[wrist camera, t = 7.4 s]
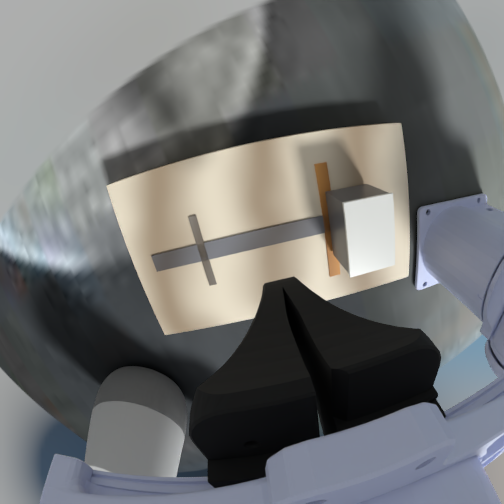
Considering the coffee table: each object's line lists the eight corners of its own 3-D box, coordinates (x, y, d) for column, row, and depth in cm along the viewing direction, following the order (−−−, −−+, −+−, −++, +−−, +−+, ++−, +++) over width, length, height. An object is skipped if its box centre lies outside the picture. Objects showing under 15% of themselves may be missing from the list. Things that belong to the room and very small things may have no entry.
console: (387, 123, 18) (401, 122, 16) (397, 265, 22) (409, 276, 21) (117, 180, 18) (105, 186, 16) (169, 320, 23) (164, 335, 21)
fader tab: (367, 182, 17) (392, 193, 14) (372, 245, 19) (394, 264, 16) (324, 191, 17) (343, 203, 14) (332, 255, 19) (350, 277, 16)
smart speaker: (118, 341, 24) (69, 470, 11) (204, 379, 26) (199, 511, 13) (99, 390, 26) (66, 491, 13) (170, 420, 29) (159, 523, 16)
